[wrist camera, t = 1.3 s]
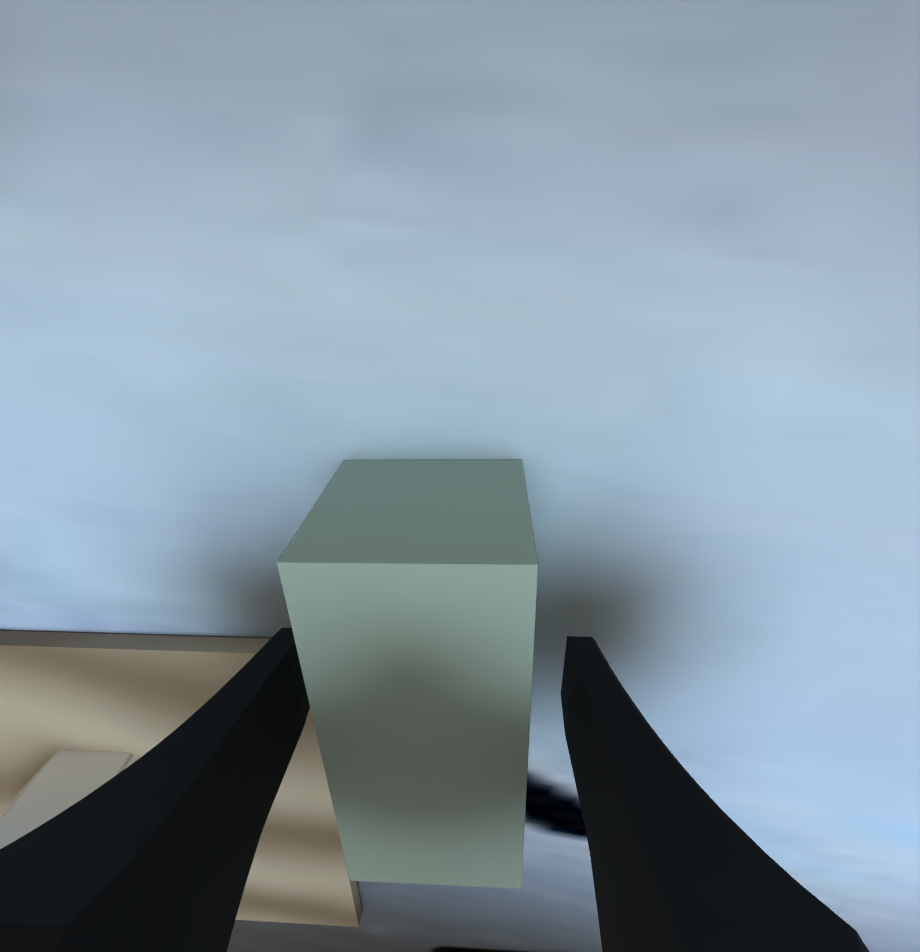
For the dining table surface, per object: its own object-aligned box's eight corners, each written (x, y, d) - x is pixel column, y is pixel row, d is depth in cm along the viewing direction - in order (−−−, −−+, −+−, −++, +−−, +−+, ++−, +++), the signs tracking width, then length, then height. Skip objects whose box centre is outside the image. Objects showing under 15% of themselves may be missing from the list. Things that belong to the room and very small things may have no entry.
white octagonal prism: (227, 860, 19) (185, 959, 17) (72, 851, 20) (6, 948, 17) (185, 755, 17) (127, 855, 14) (6, 747, 17) (-85, 843, 14)
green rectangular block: (513, 728, 16) (521, 889, 12) (383, 725, 17) (350, 880, 13) (521, 455, 12) (537, 564, 8) (345, 456, 12) (276, 562, 8)
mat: (362, 910, 22) (358, 927, 21) (20, 889, 23) (8, 905, 22) (310, 639, 15) (303, 654, 14) (-183, 624, 16) (-206, 638, 15)
